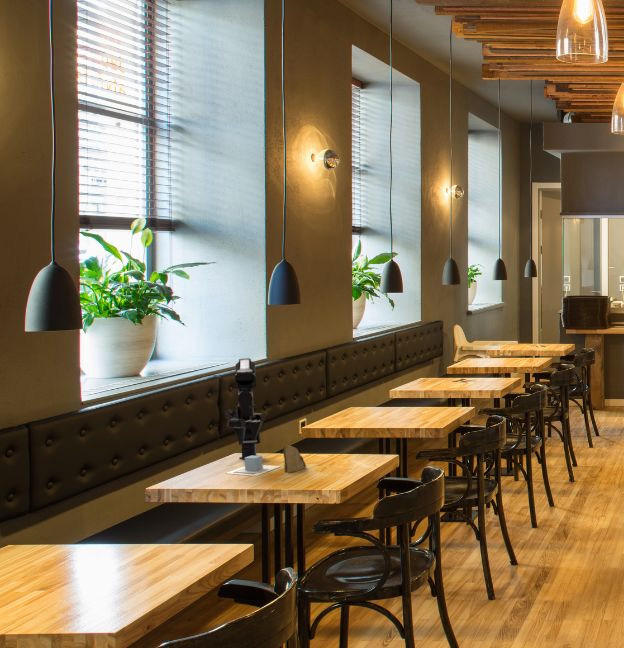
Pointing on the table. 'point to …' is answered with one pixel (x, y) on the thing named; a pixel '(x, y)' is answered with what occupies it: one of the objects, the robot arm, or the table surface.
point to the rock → (293, 459)
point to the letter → (253, 473)
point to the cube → (253, 463)
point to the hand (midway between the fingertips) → (247, 441)
